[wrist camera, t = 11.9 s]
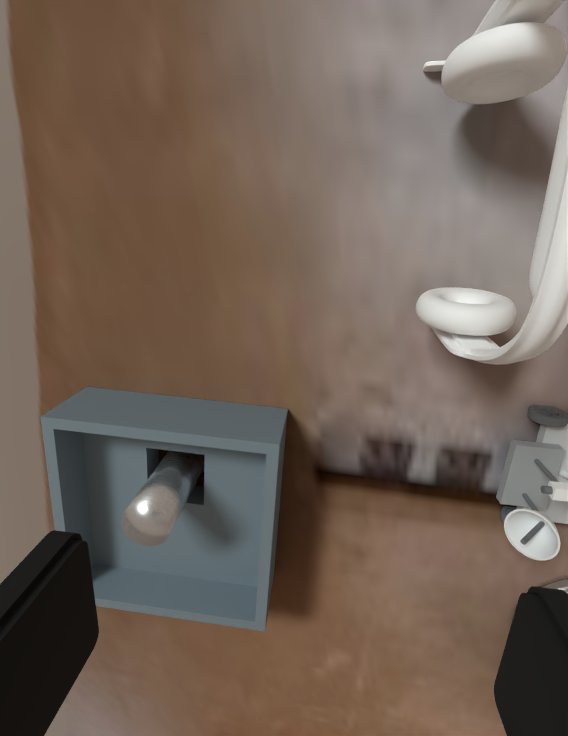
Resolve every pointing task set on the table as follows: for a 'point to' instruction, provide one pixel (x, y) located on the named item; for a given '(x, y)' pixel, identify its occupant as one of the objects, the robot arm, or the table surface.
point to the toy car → (537, 486)
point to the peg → (162, 498)
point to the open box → (199, 515)
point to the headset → (562, 200)
